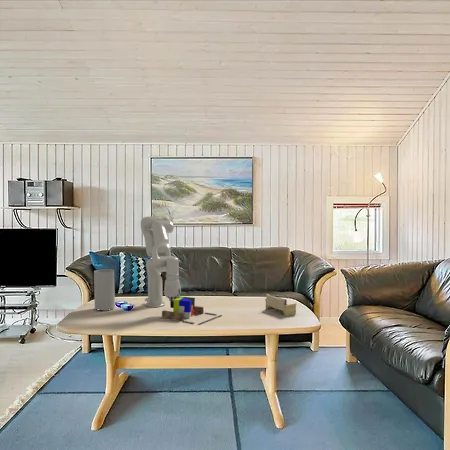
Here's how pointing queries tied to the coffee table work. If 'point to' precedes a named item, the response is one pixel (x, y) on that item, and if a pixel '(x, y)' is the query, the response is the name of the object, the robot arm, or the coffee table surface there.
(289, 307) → the toy sofa
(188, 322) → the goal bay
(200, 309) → the chute
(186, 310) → the puzzle toy
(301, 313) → the coffee table surface
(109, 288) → the grey rounded tower
